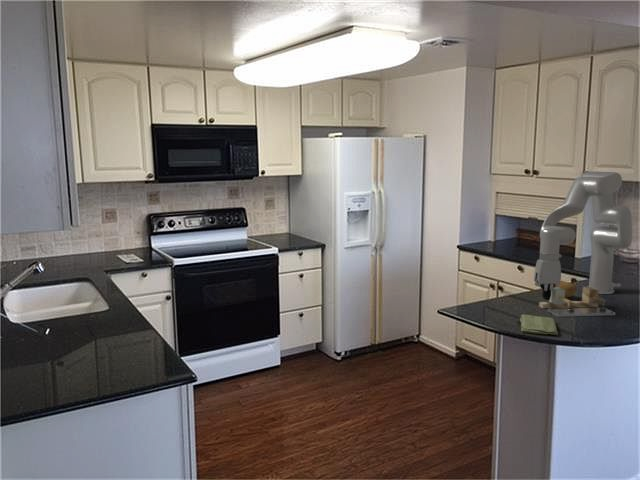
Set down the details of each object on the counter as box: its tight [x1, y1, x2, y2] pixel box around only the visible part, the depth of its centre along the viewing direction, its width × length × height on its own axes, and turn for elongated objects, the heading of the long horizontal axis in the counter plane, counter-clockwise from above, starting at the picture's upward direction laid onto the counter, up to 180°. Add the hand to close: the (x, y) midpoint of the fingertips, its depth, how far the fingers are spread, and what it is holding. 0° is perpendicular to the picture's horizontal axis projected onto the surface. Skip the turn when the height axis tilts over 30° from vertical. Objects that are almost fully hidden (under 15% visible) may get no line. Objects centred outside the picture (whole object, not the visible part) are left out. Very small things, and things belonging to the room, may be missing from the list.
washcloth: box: [519, 314, 559, 336], centre depth 202 cm, size 13×18×3 cm
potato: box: [554, 280, 578, 299], centre depth 245 cm, size 10×14×8 cm
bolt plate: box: [546, 306, 617, 318], centre depth 221 cm, size 25×8×2 cm, turn 95°
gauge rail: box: [538, 286, 606, 309], centre depth 226 cm, size 25×12×8 cm, turn 95°
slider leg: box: [548, 288, 572, 307], centre depth 225 cm, size 4×12×6 cm, turn 5°
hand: (546, 299), depth 229 cm, fingers closed
